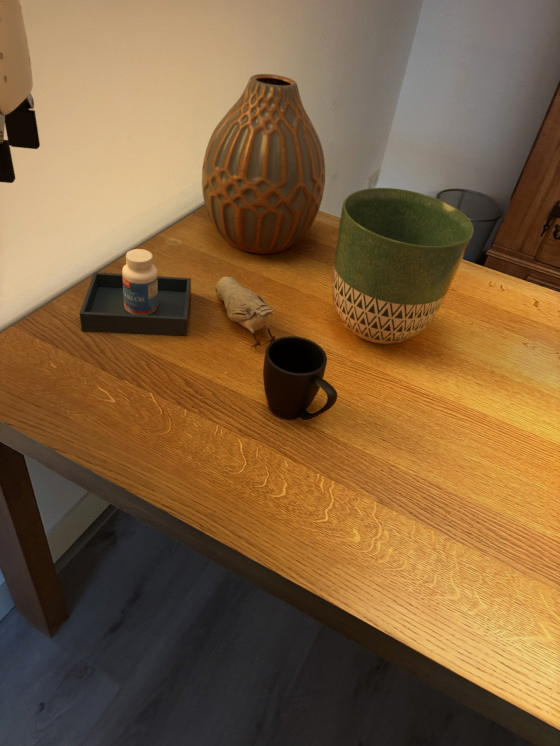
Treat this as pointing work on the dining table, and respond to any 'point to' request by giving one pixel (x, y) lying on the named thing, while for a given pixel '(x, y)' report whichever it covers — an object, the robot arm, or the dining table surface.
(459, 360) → the dining table surface
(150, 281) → the pill bottle
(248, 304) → the decorative bird
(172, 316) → the tray
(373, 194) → the planter
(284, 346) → the mug
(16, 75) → the robot arm
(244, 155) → the vase
